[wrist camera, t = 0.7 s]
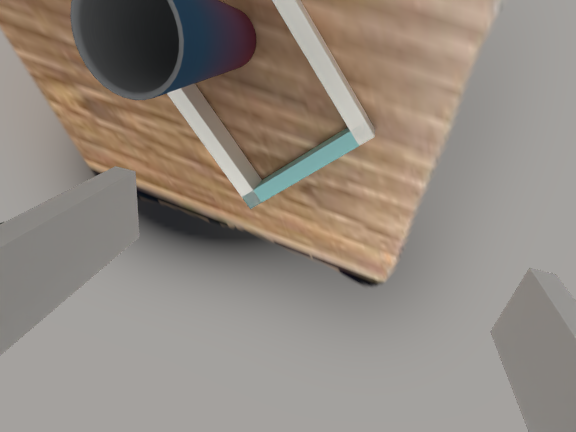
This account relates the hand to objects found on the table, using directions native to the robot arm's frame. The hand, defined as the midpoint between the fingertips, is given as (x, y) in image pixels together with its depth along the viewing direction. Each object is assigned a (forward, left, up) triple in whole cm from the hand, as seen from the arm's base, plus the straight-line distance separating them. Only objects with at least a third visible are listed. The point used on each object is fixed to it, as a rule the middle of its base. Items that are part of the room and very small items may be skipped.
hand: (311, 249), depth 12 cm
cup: (-12, -6, -24) cm, 27 cm away
